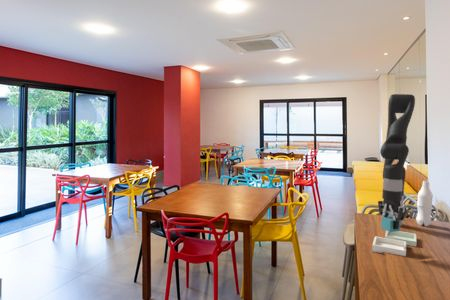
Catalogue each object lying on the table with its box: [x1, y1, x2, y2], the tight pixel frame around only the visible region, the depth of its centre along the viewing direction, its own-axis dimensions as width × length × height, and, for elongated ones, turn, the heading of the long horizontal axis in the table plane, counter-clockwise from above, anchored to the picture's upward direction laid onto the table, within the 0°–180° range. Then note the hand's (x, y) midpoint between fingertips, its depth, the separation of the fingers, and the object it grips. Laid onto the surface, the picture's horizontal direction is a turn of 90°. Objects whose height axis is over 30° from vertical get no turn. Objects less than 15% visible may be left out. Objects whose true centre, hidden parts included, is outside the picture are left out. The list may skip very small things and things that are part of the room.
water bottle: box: [415, 180, 434, 227], centre depth 169 cm, size 7×7×25 cm
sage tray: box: [384, 230, 417, 247], centre depth 144 cm, size 13×13×3 cm
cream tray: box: [371, 236, 407, 257], centre depth 134 cm, size 13×13×3 cm
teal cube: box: [381, 216, 401, 232], centre depth 133 cm, size 5×5×5 cm
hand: (390, 226), depth 133 cm, fingers closed on teal cube, 5 cm apart
